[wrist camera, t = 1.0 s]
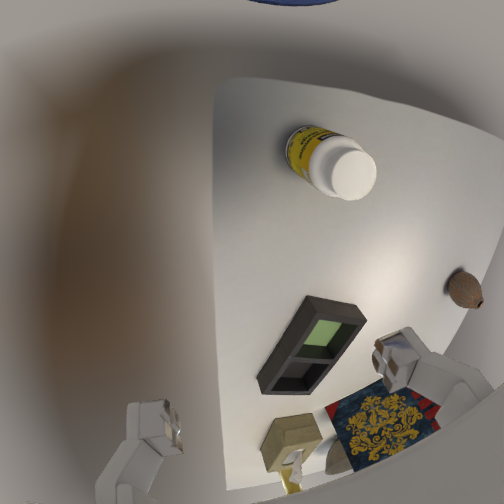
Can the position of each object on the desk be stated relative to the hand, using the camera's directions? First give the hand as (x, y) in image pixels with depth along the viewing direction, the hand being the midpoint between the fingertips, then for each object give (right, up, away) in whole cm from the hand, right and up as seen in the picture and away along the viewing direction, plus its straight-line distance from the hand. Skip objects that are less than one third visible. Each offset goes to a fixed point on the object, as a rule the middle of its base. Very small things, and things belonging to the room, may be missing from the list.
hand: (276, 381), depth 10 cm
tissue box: (+8, -42, +58) cm, 72 cm away
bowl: (+28, -56, +71) cm, 95 cm away
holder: (+8, -11, +40) cm, 43 cm away
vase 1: (+10, -67, +73) cm, 100 cm away
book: (+29, -30, +57) cm, 70 cm away
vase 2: (+42, -1, +43) cm, 60 cm away
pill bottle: (+6, +17, +24) cm, 30 cm away
